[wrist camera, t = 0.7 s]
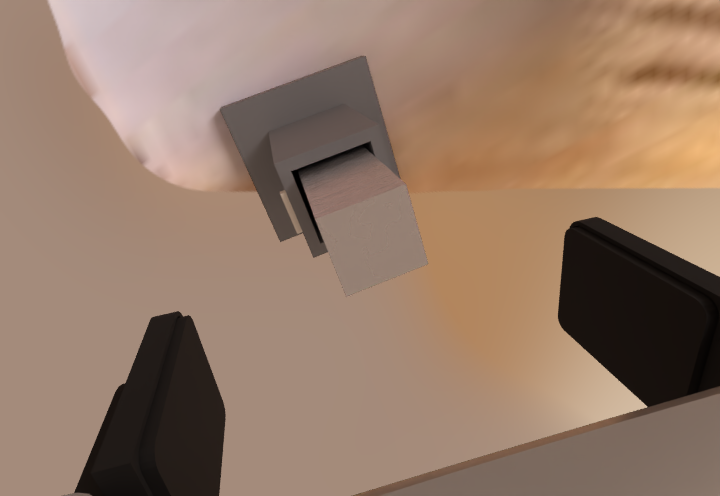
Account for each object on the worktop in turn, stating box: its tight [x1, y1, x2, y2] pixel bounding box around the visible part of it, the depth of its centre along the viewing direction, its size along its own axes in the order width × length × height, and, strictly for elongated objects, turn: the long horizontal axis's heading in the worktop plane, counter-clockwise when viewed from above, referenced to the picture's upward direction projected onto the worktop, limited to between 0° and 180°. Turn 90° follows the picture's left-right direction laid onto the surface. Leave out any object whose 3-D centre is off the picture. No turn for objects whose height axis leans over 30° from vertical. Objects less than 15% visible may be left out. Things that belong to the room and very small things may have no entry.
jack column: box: [297, 145, 428, 297], centre depth 30 cm, size 5×5×20 cm
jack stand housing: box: [220, 56, 400, 257], centre depth 35 cm, size 13×13×14 cm
